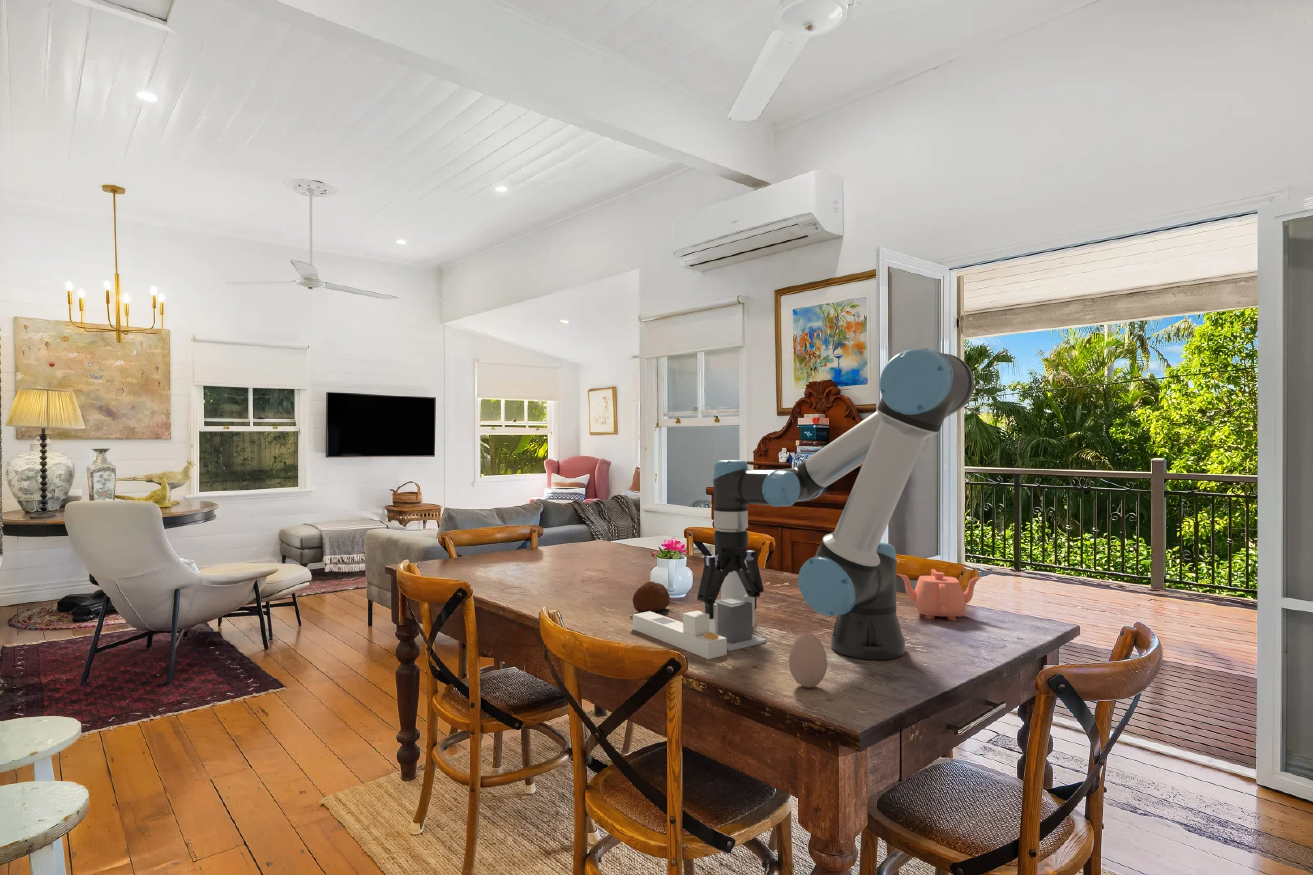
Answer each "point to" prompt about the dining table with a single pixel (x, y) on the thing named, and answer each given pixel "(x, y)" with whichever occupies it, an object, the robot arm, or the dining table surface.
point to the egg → (808, 660)
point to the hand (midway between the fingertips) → (731, 629)
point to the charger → (734, 620)
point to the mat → (746, 643)
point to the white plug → (695, 623)
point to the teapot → (939, 595)
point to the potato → (651, 597)
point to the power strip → (679, 635)
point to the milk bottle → (733, 587)
